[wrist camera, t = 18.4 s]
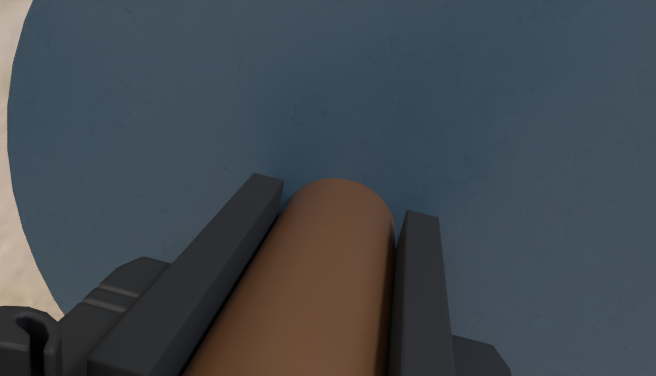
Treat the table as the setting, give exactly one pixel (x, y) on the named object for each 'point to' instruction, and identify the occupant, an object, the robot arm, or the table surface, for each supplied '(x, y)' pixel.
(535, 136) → the tin lid
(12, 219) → the table surface
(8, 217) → the table surface
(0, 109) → the table surface
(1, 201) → the table surface
